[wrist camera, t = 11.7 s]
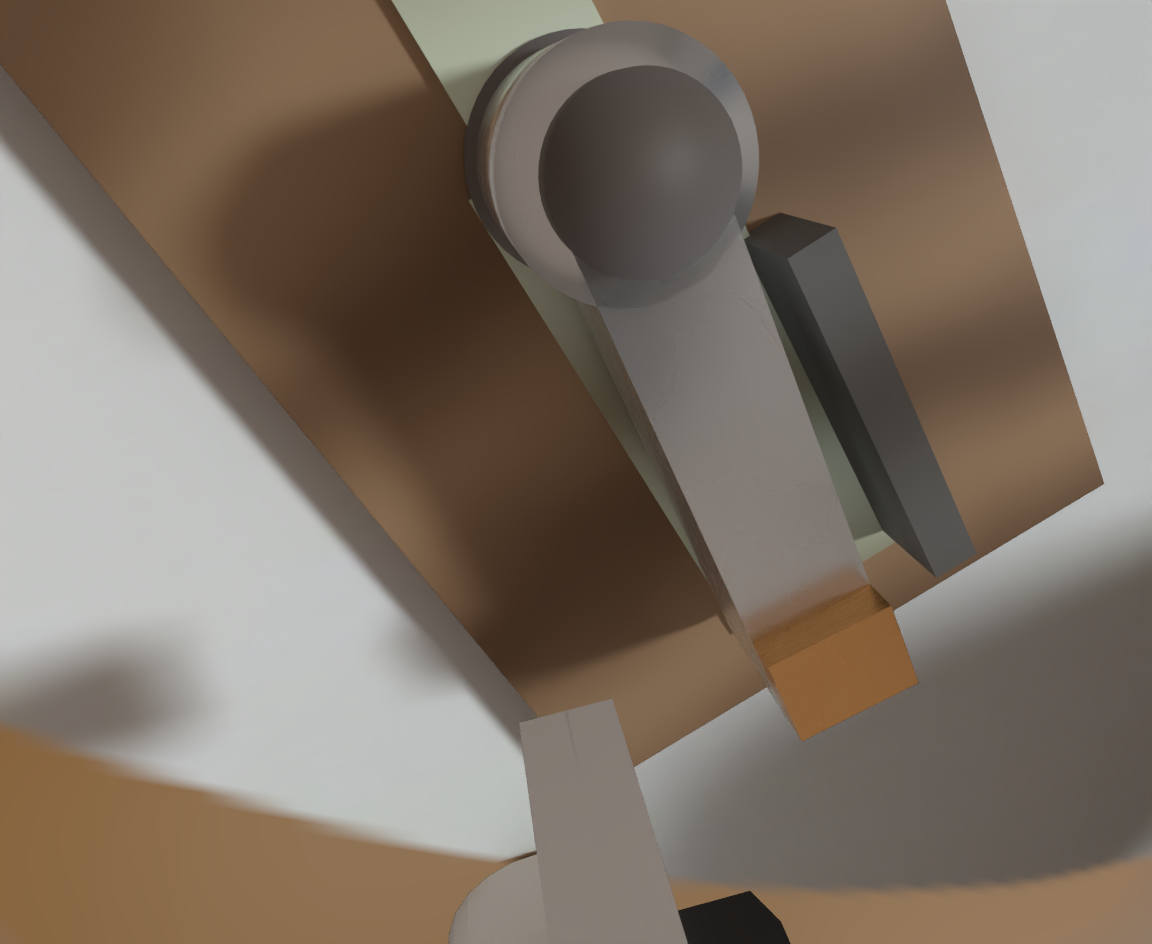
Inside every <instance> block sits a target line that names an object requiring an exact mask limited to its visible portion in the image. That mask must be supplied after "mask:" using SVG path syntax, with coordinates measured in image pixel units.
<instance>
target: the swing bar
mask: <svg viewBox="0 0 1152 944" xmlns="http://www.w3.org/2000/svg"><path fill="white" fill-rule="evenodd" d="M643 65H651V66H662V67H667V68H671V69H675V70H677V71H680V72H683V73H685V74H687V75H689V76H691V77H693V78H694V79H696V80H698V81H699V82H700V83H702V84H703V85H704V86H706V87H707V88H708V89H709V90H710V91H711V92H712V93H713V94H714V95H715V96H716V97H717V98H718V99H719V101H720V102H721V104H722V105H723V106H724V108H725V109H726V111H727V113H728V114H729V116H730V118H731V120H732V122H733V125H734V127H735V130H736V132H737V136H738V140H739V144H740V148H741V156H742V181H741V189H740V193H739V197H738V202H737V205H736V207H735V210H734V213H733V215H732V217H731V219H730V221H729V223H728V225H727V227H726V229H725V230H724V232H723V233H722V235H721V237H720V238H719V239H718V241H717V242H716V243H715V244H714V245H713V246H712V248H711V249H710V250H709V251H708V252H707V253H706V254H704V255H703V256H702V257H701V258H700V259H699V260H697V261H696V262H694V263H693V264H692V265H690V266H688V267H687V268H685V269H683V270H681V271H679V272H677V273H674V274H672V275H669V276H666V277H662V278H658V279H653V280H644V281H638V280H626V279H619V278H616V277H612V276H609V275H606V274H604V273H602V272H600V271H598V270H595V269H594V268H592V267H591V266H589V265H588V264H586V263H585V262H584V261H582V260H581V259H580V258H579V257H578V256H576V255H575V254H574V253H573V252H572V251H571V250H569V249H568V248H567V247H566V245H565V244H564V243H563V242H562V241H561V240H560V239H559V237H558V236H557V234H556V233H555V231H554V230H553V228H552V226H551V224H550V222H549V220H548V219H547V216H546V214H545V211H544V208H543V205H542V201H541V196H540V192H539V182H538V166H539V158H540V151H541V147H542V144H543V140H544V137H545V135H546V132H547V130H548V127H549V125H550V123H551V121H552V120H553V118H554V116H555V114H556V113H557V111H558V110H559V109H560V107H561V106H562V105H563V103H564V102H565V101H566V100H567V99H568V98H569V97H570V96H571V95H572V94H573V93H574V92H575V91H576V90H577V89H579V88H580V87H581V86H583V85H584V84H585V83H587V82H588V81H590V80H592V79H594V78H596V77H597V76H600V75H602V74H605V73H607V72H610V71H614V70H618V69H623V68H627V67H632V66H643ZM476 165H477V174H478V181H479V185H480V189H481V192H482V196H483V199H484V201H485V204H486V206H487V208H488V211H489V213H490V214H491V216H492V218H493V220H494V221H495V223H496V225H497V226H498V227H499V229H500V230H501V231H502V232H503V234H504V235H505V236H506V238H507V239H508V240H509V242H510V243H511V244H512V245H513V247H514V248H515V249H516V251H517V252H518V253H519V254H520V256H521V257H522V258H523V260H524V261H525V262H526V263H527V265H528V266H529V267H530V268H531V269H532V270H533V271H534V272H535V273H536V274H537V275H538V276H539V277H540V278H541V279H542V280H544V281H545V282H546V283H548V284H549V285H550V286H551V287H553V288H554V289H556V290H557V291H559V292H561V293H563V294H564V295H566V296H568V297H570V298H573V299H575V300H576V302H577V304H578V307H579V309H580V311H581V313H582V315H583V317H584V319H585V321H586V324H587V326H588V328H589V330H590V332H591V334H592V336H593V338H594V341H595V343H596V345H597V347H598V349H599V351H600V353H601V355H602V357H603V360H604V362H605V364H606V366H607V368H608V370H609V372H610V374H611V377H612V379H613V381H614V383H615V385H616V387H617V389H618V391H619V394H620V396H621V398H622V400H623V402H624V404H625V406H626V408H627V411H628V413H629V415H630V417H631V419H632V421H633V423H634V425H635V428H636V430H637V432H638V434H639V436H640V438H641V440H642V442H643V445H644V447H645V449H646V451H647V453H648V455H649V457H650V459H651V462H652V464H653V466H654V468H655V470H656V472H657V474H658V476H659V478H660V481H661V483H662V485H663V487H664V489H665V491H666V493H667V495H668V498H669V500H670V502H671V504H672V506H673V508H674V510H675V512H676V515H677V517H678V519H679V521H680V523H681V525H682V527H683V529H684V532H685V534H686V536H687V538H688V540H689V542H690V544H691V546H692V549H693V551H694V553H695V555H696V557H697V559H698V561H699V563H700V566H701V568H702V570H703V572H704V574H705V576H706V578H707V580H708V583H709V585H710V587H711V589H712V591H713V593H714V595H715V597H716V599H717V602H718V604H719V606H720V608H721V610H722V612H723V614H724V616H725V619H726V621H727V623H728V625H729V627H730V629H731V630H732V632H733V633H734V635H735V637H736V638H737V640H738V641H739V643H740V645H741V646H742V648H743V649H744V651H745V653H746V654H747V656H748V657H749V659H750V661H751V662H752V664H753V665H754V667H755V669H756V670H757V672H758V674H759V675H760V677H761V678H762V680H763V682H764V683H765V685H766V686H767V688H768V690H769V691H770V693H771V694H772V696H773V698H774V699H775V701H776V702H777V704H778V706H779V707H780V709H781V710H782V712H783V714H784V715H785V717H786V718H787V720H788V721H789V722H790V723H791V725H792V726H793V728H794V730H795V731H796V733H797V734H798V736H799V738H800V739H801V741H804V740H806V739H808V738H810V737H812V736H814V735H816V734H818V733H820V732H821V731H823V730H825V729H827V728H829V727H831V726H833V725H835V724H837V723H839V722H841V721H843V720H845V719H847V718H849V717H851V716H853V715H855V714H857V713H859V712H861V711H863V710H865V709H867V708H869V707H871V706H873V705H875V704H877V703H879V702H881V701H883V700H885V699H887V698H889V697H891V696H893V695H895V694H897V693H899V692H901V691H903V690H905V689H907V688H909V687H911V686H913V685H915V684H917V683H919V682H918V680H917V677H916V674H915V671H914V668H913V666H912V663H911V660H910V657H909V654H908V651H907V649H906V646H905V643H904V640H903V637H902V635H901V632H900V629H899V626H898V623H897V621H896V618H895V615H894V612H893V609H892V607H891V605H890V604H889V603H888V602H887V601H886V600H885V599H884V598H883V597H882V596H881V595H880V594H879V593H878V592H877V591H876V590H875V589H874V588H873V587H872V586H871V585H870V583H869V581H868V578H867V575H866V572H865V570H864V567H863V564H862V561H861V559H860V556H859V553H858V550H857V548H856V545H855V542H854V539H853V537H852V534H851V531H850V528H849V526H848V523H847V520H846V518H845V515H844V512H843V509H842V507H841V504H840V501H839V498H838V496H837V493H836V490H835V487H834V485H833V482H832V479H831V476H830V474H829V471H828V468H827V465H826V463H825V460H824V457H823V455H822V452H821V449H820V446H819V444H818V441H817V438H816V435H815V433H814V430H813V427H812V424H811V422H810V419H809V416H808V413H807V411H806V408H805V405H804V402H803V400H802V397H801V394H800V392H799V389H798V386H797V383H796V381H795V378H794V375H793V372H792V370H791V367H790V364H789V361H788V359H787V356H786V353H785V350H784V348H783V345H782V342H781V339H780V337H779V334H778V331H777V329H776V326H775V323H774V320H773V318H772V315H771V312H770V309H769V307H768V304H767V301H766V298H765V296H764V293H763V290H762V287H761V285H760V282H759V279H758V276H757V274H756V271H755V268H754V266H753V263H752V260H751V257H750V255H749V252H748V249H747V246H746V244H745V241H744V238H743V235H742V233H741V232H742V230H743V228H744V226H745V224H746V222H747V219H748V217H749V214H750V211H751V208H752V205H753V202H754V197H755V193H756V188H757V183H758V173H759V145H758V138H757V131H756V126H755V123H754V119H753V115H752V111H751V109H750V106H749V104H748V102H747V99H746V97H745V94H744V92H743V91H742V89H741V87H740V85H739V84H738V82H737V80H736V78H735V77H734V76H733V74H732V73H731V72H730V70H729V69H728V68H727V66H726V65H725V64H724V63H723V62H722V61H721V60H720V59H719V58H718V57H717V56H716V55H715V54H714V53H713V52H712V51H711V50H710V49H709V48H707V47H706V46H705V45H703V44H702V43H701V42H699V41H698V40H697V39H695V38H693V37H691V36H689V35H687V34H685V33H684V32H682V31H680V30H677V29H674V28H671V27H668V26H666V25H663V24H657V23H652V22H647V21H630V20H625V21H617V22H608V23H604V24H600V25H597V26H593V27H589V28H587V29H585V30H583V31H580V32H578V33H576V34H573V35H571V36H569V37H567V38H565V39H563V40H561V41H558V42H556V43H554V44H552V45H550V46H548V47H546V48H544V49H542V50H539V51H537V52H536V53H534V54H533V55H531V56H529V57H528V58H526V59H524V60H523V61H522V62H521V63H520V64H518V65H517V66H516V67H515V68H514V69H513V70H512V71H511V72H510V73H509V74H508V75H507V76H506V77H505V78H504V79H503V80H502V82H501V83H500V85H499V86H498V88H497V89H496V91H495V92H494V94H493V95H492V97H491V99H490V101H489V103H488V105H487V107H486V110H485V113H484V115H483V118H482V121H481V125H480V129H479V133H478V139H477V149H476Z"/></svg>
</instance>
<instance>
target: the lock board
mask: <svg viewBox="0 0 1152 944" xmlns="http://www.w3.org/2000/svg"><path fill="white" fill-rule="evenodd" d="M625 20H630V21H647V22H652V23H657V24H663V25H666V26H668V27H671V28H674V29H677V30H680V31H682V32H684V33H685V34H687V35H689V36H691V37H693V38H695V39H697V40H698V41H699V42H701V43H702V44H703V45H705V46H706V47H707V48H709V49H710V50H711V51H712V52H713V53H714V54H715V55H716V56H717V57H718V58H719V59H720V60H721V61H722V62H723V63H724V64H725V65H726V66H727V68H728V69H729V70H730V72H731V73H732V74H733V76H734V77H735V78H736V80H737V82H738V84H739V85H740V87H741V89H742V91H743V92H744V94H745V97H746V99H747V102H748V104H749V106H750V109H751V111H752V115H753V119H754V123H755V126H756V131H757V138H758V145H759V173H758V183H757V188H756V193H755V197H754V202H753V205H752V208H751V211H750V214H749V217H748V219H747V222H746V224H745V226H744V228H743V230H742V232H741V233H742V235H743V238H744V241H745V244H746V246H747V249H748V252H749V255H750V257H751V260H752V263H753V266H754V268H755V271H756V274H757V276H758V279H759V282H760V285H761V287H762V290H763V293H764V296H765V298H766V301H767V304H768V307H769V309H770V312H771V315H772V318H773V320H774V323H775V326H776V329H777V331H778V334H779V337H780V339H781V342H782V345H783V348H784V350H785V353H786V356H787V359H788V361H789V364H790V367H791V370H792V372H793V375H794V378H795V381H796V383H797V386H798V389H799V392H800V394H801V397H802V400H803V402H804V405H805V408H806V411H807V413H808V416H809V419H810V422H811V424H812V427H813V430H814V433H815V435H816V438H817V441H818V444H819V446H820V449H821V452H822V455H823V457H824V460H825V463H826V465H827V468H828V471H829V474H830V476H831V479H832V482H833V485H834V487H835V490H836V493H837V496H838V498H839V501H840V504H841V507H842V509H843V512H844V515H845V518H846V520H847V523H848V526H849V528H850V531H851V534H852V537H853V539H854V542H855V545H856V548H857V550H858V553H859V556H860V559H861V561H862V564H863V567H864V570H865V572H866V575H867V578H868V581H869V583H870V585H871V586H872V587H873V588H874V589H875V590H876V591H877V592H878V593H879V594H880V595H881V596H882V597H883V598H884V599H885V600H886V601H887V602H888V603H889V604H890V605H891V607H892V609H893V611H894V610H895V609H897V608H899V607H900V606H902V605H904V604H905V603H907V602H909V601H910V600H912V599H914V598H915V597H917V596H919V595H920V594H922V593H924V592H925V591H927V590H929V589H930V588H932V587H934V586H935V585H937V584H939V583H940V582H942V581H944V580H945V579H947V578H948V577H950V576H952V575H953V574H955V573H957V572H958V571H960V570H962V569H963V568H965V567H967V566H968V565H970V564H972V563H973V562H975V561H977V560H978V559H980V558H982V557H983V556H985V555H987V554H988V553H990V552H992V551H993V550H995V549H997V548H998V547H1000V546H1002V545H1003V544H1005V543H1007V542H1008V541H1010V540H1012V539H1013V538H1015V537H1017V536H1018V535H1020V534H1021V533H1023V532H1025V531H1026V530H1028V529H1030V528H1031V527H1033V526H1035V525H1036V524H1038V523H1040V522H1041V521H1043V520H1045V519H1046V518H1048V517H1050V516H1051V515H1053V514H1055V513H1056V512H1058V511H1060V510H1061V509H1063V508H1065V507H1066V506H1068V505H1070V504H1071V503H1073V502H1075V501H1076V500H1078V499H1080V498H1081V497H1083V496H1085V495H1086V494H1088V493H1090V492H1091V491H1093V490H1095V489H1096V488H1098V487H1099V486H1101V485H1103V484H1104V482H1103V479H1102V476H1101V473H1100V470H1099V466H1098V463H1097V460H1096V457H1095V454H1094V451H1093V448H1092V445H1091V442H1090V439H1089V436H1088V433H1087V430H1086V427H1085V424H1084V421H1083V418H1082V415H1081V412H1080V409H1079V406H1078V402H1077V399H1076V396H1075V393H1074V390H1073V387H1072V384H1071V381H1070V378H1069V375H1068V372H1067V369H1066V366H1065V363H1064V360H1063V357H1062V354H1061V351H1060V348H1059V345H1058V342H1057V339H1056V335H1055V332H1054V329H1053V326H1052V323H1051V320H1050V317H1049V314H1048V311H1047V308H1046V305H1045V302H1044V299H1043V296H1042V293H1041V290H1040V287H1039V284H1038V281H1037V278H1036V275H1035V272H1034V268H1033V265H1032V262H1031V259H1030V256H1029V253H1028V250H1027V247H1026V244H1025V241H1024V238H1023V235H1022V232H1021V229H1020V226H1019V223H1018V220H1017V217H1016V214H1015V211H1014V208H1013V205H1012V201H1011V198H1010V195H1009V192H1008V189H1007V186H1006V183H1005V180H1004V177H1003V174H1002V171H1001V168H1000V165H999V162H998V159H997V156H996V153H995V150H994V147H993V144H992V141H991V138H990V134H989V131H988V128H987V125H986V122H985V119H984V116H983V113H982V110H981V107H980V104H979V101H978V98H977V95H976V92H975V89H974V86H973V83H972V80H971V77H970V74H969V71H968V67H967V64H966V61H965V58H964V55H963V52H962V49H961V46H960V43H959V40H958V37H957V34H956V31H955V28H954V25H953V22H952V19H951V16H950V13H949V10H948V7H947V4H946V0H0V64H1V66H2V67H3V68H4V69H5V70H6V72H7V73H8V74H9V75H10V76H11V78H12V79H13V80H14V81H15V83H16V84H17V85H18V86H19V87H20V89H21V90H22V91H23V92H24V93H25V95H26V96H27V97H28V98H29V100H30V101H31V102H32V103H33V104H34V106H35V107H36V108H37V109H38V110H39V112H40V113H41V114H42V115H43V117H44V118H45V119H46V120H47V121H48V123H49V124H50V125H51V126H52V127H53V129H54V130H55V131H56V132H57V134H58V135H59V136H60V137H61V138H62V140H63V141H64V142H65V143H66V144H67V146H68V147H69V148H70V149H71V151H72V152H73V153H74V154H75V155H76V157H77V158H78V159H79V160H80V161H81V163H82V164H83V165H84V166H85V168H86V169H87V170H88V171H89V172H90V174H91V175H92V176H93V177H94V178H95V180H96V181H97V182H98V183H99V185H100V186H101V187H102V188H103V189H104V191H105V192H106V193H107V194H108V195H109V197H110V198H111V199H112V200H113V202H114V203H115V204H116V205H117V206H118V208H119V209H120V210H121V211H122V212H123V214H124V215H125V216H126V217H127V219H128V220H129V221H130V222H131V223H132V225H133V226H134V227H135V228H136V229H137V231H138V232H139V233H140V234H141V236H142V237H143V238H144V239H145V240H146V242H147V243H148V244H149V245H150V246H151V248H152V249H153V250H154V251H155V253H156V254H157V255H158V256H159V257H160V259H161V260H162V261H163V262H164V263H165V265H166V266H167V267H168V268H169V270H170V271H171V272H172V273H173V274H174V276H175V277H176V278H177V279H178V280H179V282H180V283H181V284H182V285H183V287H184V288H185V289H186V290H187V291H188V293H189V294H190V295H191V296H192V297H193V299H194V300H195V301H196V302H197V304H198V305H199V306H200V307H201V308H202V310H203V311H204V312H205V313H206V314H207V316H208V317H209V318H210V319H211V321H212V322H213V323H214V324H215V325H216V327H217V328H218V329H219V330H220V331H221V333H222V334H223V335H224V336H225V337H226V339H227V340H228V341H229V342H230V344H231V345H232V346H233V347H234V348H235V350H236V351H237V352H238V353H239V354H240V356H241V357H242V358H243V359H244V361H245V362H246V363H247V364H248V365H249V367H250V368H251V369H252V370H253V371H254V373H255V374H256V375H257V376H258V378H259V379H260V380H261V381H262V382H263V384H264V385H265V386H266V387H267V388H268V390H269V391H270V392H271V393H272V395H273V396H274V397H275V398H276V399H277V401H278V402H279V403H280V404H281V405H282V407H283V408H284V409H285V410H286V412H287V413H288V414H289V415H290V416H291V418H292V419H293V420H294V421H295V422H296V424H297V425H298V426H299V427H300V429H301V430H302V431H303V432H304V433H305V435H306V436H307V437H308V438H309V439H310V441H311V442H312V443H313V444H314V446H315V447H316V448H317V449H318V450H319V452H320V453H321V454H322V455H323V456H324V458H325V459H326V460H327V461H328V463H329V464H330V465H331V466H332V467H333V469H334V470H335V471H336V472H337V473H338V475H339V476H340V477H341V478H342V480H343V481H344V482H345V483H346V484H347V486H348V487H349V488H350V489H351V490H352V492H353V493H354V494H355V495H356V497H357V498H358V499H359V500H360V501H361V503H362V504H363V505H364V506H365V507H366V509H367V510H368V511H369V512H370V514H371V515H372V516H373V517H374V518H375V520H376V521H377V522H378V523H379V524H380V526H381V527H382V528H383V529H384V531H385V532H386V533H387V534H388V535H389V537H390V538H391V539H392V540H393V541H394V543H395V544H396V545H397V546H398V548H399V549H400V550H401V551H402V552H403V554H404V555H405V556H406V557H407V558H408V560H409V561H410V562H411V563H412V565H413V566H414V567H415V568H416V569H417V571H418V572H419V573H420V574H421V575H422V577H423V578H424V579H425V580H426V582H427V583H428V584H429V585H430V586H431V588H432V589H433V590H434V591H435V592H436V594H437V595H438V596H439V597H440V599H441V600H442V601H443V602H444V603H445V605H446V606H447V607H448V608H449V609H450V611H451V612H452V613H453V614H454V616H455V617H456V618H457V619H458V620H459V622H460V623H461V624H462V625H463V626H464V628H465V629H466V630H467V631H468V633H469V634H470V635H471V636H472V637H473V639H474V640H475V641H476V642H477V643H478V645H479V646H480V647H481V648H482V649H483V651H484V652H485V653H486V654H487V656H488V657H489V658H490V659H491V660H492V662H493V663H494V664H495V665H496V666H497V668H498V669H499V670H500V671H501V673H502V674H503V675H504V676H505V677H506V679H507V680H508V681H509V682H510V683H511V685H512V686H513V687H514V688H515V690H516V691H517V692H518V693H519V694H520V696H521V697H522V698H523V699H524V700H525V702H526V703H527V704H528V705H529V707H530V708H531V709H532V710H533V711H534V713H535V714H536V715H537V716H538V717H543V716H547V715H551V714H555V713H559V712H563V711H567V710H570V709H574V708H578V707H582V706H586V705H590V704H594V703H598V702H602V701H605V700H609V699H613V702H614V705H615V708H616V712H617V715H618V718H619V721H620V725H621V728H622V731H623V734H624V738H625V741H626V744H627V747H628V751H629V754H630V757H631V760H632V764H633V767H635V766H637V765H638V764H640V763H642V762H643V761H645V760H646V759H648V758H650V757H651V756H653V755H655V754H656V753H658V752H660V751H661V750H663V749H665V748H666V747H668V746H670V745H671V744H673V743H675V742H676V741H678V740H680V739H681V738H683V737H685V736H686V735H688V734H690V733H691V732H693V731H695V730H696V729H698V728H700V727H701V726H703V725H705V724H706V723H708V722H710V721H711V720H713V719H715V718H716V717H718V716H719V715H721V714H723V713H724V712H726V711H728V710H729V709H731V708H733V707H734V706H736V705H738V704H739V703H741V702H743V701H744V700H746V699H748V698H749V697H751V696H753V695H754V694H756V693H758V692H759V691H761V690H763V689H764V688H766V687H767V686H766V685H765V683H764V682H763V680H762V678H761V677H760V675H759V674H758V672H757V670H756V669H755V667H754V665H753V664H752V662H751V661H750V659H749V657H748V656H747V654H746V653H745V651H744V649H743V648H742V646H741V645H740V643H739V641H738V640H737V638H736V637H735V635H734V633H733V632H732V630H731V629H730V627H729V625H728V623H727V621H726V619H725V616H724V614H723V612H722V610H721V608H720V606H719V604H718V602H717V599H716V597H715V595H714V593H713V591H712V589H711V587H710V585H709V583H708V580H707V578H706V576H705V574H704V572H703V570H702V568H701V566H700V563H699V561H698V559H697V557H696V555H695V553H694V551H693V549H692V546H691V544H690V542H689V540H688V538H687V536H686V534H685V532H684V529H683V527H682V525H681V523H680V521H679V519H678V517H677V515H676V512H675V510H674V508H673V506H672V504H671V502H670V500H669V498H668V495H667V493H666V491H665V489H664V487H663V485H662V483H661V481H660V478H659V476H658V474H657V472H656V470H655V468H654V466H653V464H652V462H651V459H650V457H649V455H648V453H647V451H646V449H645V447H644V445H643V442H642V440H641V438H640V436H639V434H638V432H637V430H636V428H635V425H634V423H633V421H632V419H631V417H630V415H629V413H628V411H627V408H626V406H625V404H624V402H623V400H622V398H621V396H620V394H619V391H618V389H617V387H616V385H615V383H614V381H613V379H612V377H611V374H610V372H609V370H608V368H607V366H606V364H605V362H604V360H603V357H602V355H601V353H600V351H599V349H598V347H597V345H596V343H595V341H594V338H593V336H592V334H591V332H590V330H589V328H588V326H587V324H586V321H585V319H584V317H583V315H582V313H581V311H580V309H579V307H578V304H577V302H576V300H575V299H573V298H570V297H568V296H566V295H564V294H563V293H561V292H559V291H557V290H556V289H554V288H553V287H551V286H550V285H549V284H548V283H546V282H545V281H544V280H542V279H541V278H540V277H539V276H538V275H537V274H536V273H535V272H534V271H533V270H532V269H531V268H530V267H529V266H528V265H527V263H526V262H525V261H524V260H523V258H522V257H521V256H520V254H519V253H518V252H517V251H516V249H515V248H514V247H513V245H512V244H511V243H510V242H509V240H508V239H507V238H506V236H505V235H504V234H503V232H502V231H501V230H500V229H499V227H498V226H497V225H496V223H495V221H494V220H493V218H492V216H491V214H490V213H489V211H488V208H487V206H486V204H485V201H484V199H483V196H482V192H481V189H480V185H479V181H478V174H477V165H476V149H477V139H478V133H479V129H480V125H481V121H482V118H483V115H484V113H485V110H486V107H487V105H488V103H489V101H490V99H491V97H492V95H493V94H494V92H495V91H496V89H497V88H498V86H499V85H500V83H501V82H502V80H503V79H504V78H505V77H506V76H507V75H508V74H509V73H510V72H511V71H512V70H513V69H514V68H515V67H516V66H517V65H518V64H520V63H521V62H522V61H523V60H524V59H526V58H528V57H529V56H531V55H533V54H534V53H536V52H537V51H539V50H542V49H544V48H546V47H548V46H550V45H552V44H554V43H556V42H558V41H561V40H563V39H565V38H567V37H569V36H571V35H573V34H576V33H578V32H580V31H583V30H585V29H587V28H589V27H593V26H597V25H600V24H604V23H608V22H617V21H625ZM741 181H742V156H741V148H740V144H739V140H738V136H737V132H736V130H735V127H734V125H733V122H732V120H731V118H730V116H729V114H728V113H727V111H726V109H725V108H724V106H723V105H722V104H721V102H720V101H719V99H718V98H717V97H716V96H715V95H714V94H713V93H712V92H711V91H710V90H709V89H708V88H707V87H706V86H704V85H703V84H702V83H700V82H699V81H698V80H696V79H694V78H693V77H691V76H689V75H687V74H685V73H683V72H680V71H677V70H675V69H671V68H667V67H662V66H651V65H643V66H632V67H627V68H623V69H618V70H614V71H610V72H607V73H605V74H602V75H600V76H597V77H596V78H594V79H592V80H590V81H588V82H587V83H585V84H584V85H583V86H581V87H580V88H579V89H577V90H576V91H575V92H574V93H573V94H572V95H571V96H570V97H569V98H568V99H567V100H566V101H565V102H564V103H563V105H562V106H561V107H560V109H559V110H558V111H557V113H556V114H555V116H554V118H553V120H552V121H551V123H550V125H549V127H548V130H547V132H546V135H545V137H544V140H543V144H542V147H541V151H540V158H539V166H538V182H539V192H540V196H541V201H542V205H543V208H544V211H545V214H546V216H547V219H548V220H549V222H550V224H551V226H552V228H553V230H554V231H555V233H556V234H557V236H558V237H559V239H560V240H561V241H562V242H563V243H564V244H565V245H566V247H567V248H568V249H569V250H571V251H572V252H573V253H574V254H575V255H576V256H578V257H579V258H580V259H581V260H582V261H584V262H585V263H586V264H588V265H589V266H591V267H592V268H594V269H595V270H598V271H600V272H602V273H604V274H606V275H609V276H612V277H616V278H619V279H626V280H638V281H644V280H653V279H658V278H662V277H666V276H669V275H672V274H674V273H677V272H679V271H681V270H683V269H685V268H687V267H688V266H690V265H692V264H693V263H694V262H696V261H697V260H699V259H700V258H701V257H702V256H703V255H704V254H706V253H707V252H708V251H709V250H710V249H711V248H712V246H713V245H714V244H715V243H716V242H717V241H718V239H719V238H720V237H721V235H722V233H723V232H724V230H725V229H726V227H727V225H728V223H729V221H730V219H731V217H732V215H733V213H734V210H735V207H736V205H737V202H738V197H739V193H740V189H741Z"/></svg>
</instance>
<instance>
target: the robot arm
mask: <svg viewBox="0 0 1152 944" xmlns="http://www.w3.org/2000/svg"><path fill="white" fill-rule="evenodd" d="M519 728H520V735H521V742H522V749H523V757H524V764H525V771H526V778H527V786H528V793H529V800H530V807H531V815H532V822H533V829H534V836H535V844H536V851H537V858H538V865H539V873H540V880H541V887H542V894H543V902H544V909H545V916H546V923H547V931H548V938H549V944H790V942H789V939H788V937H787V935H786V932H785V930H784V928H783V925H782V923H781V921H780V920H779V919H778V918H777V917H776V916H775V915H773V913H772V912H771V911H770V910H769V909H768V908H767V907H766V906H765V905H764V904H763V903H762V902H760V900H759V899H757V897H756V896H755V895H754V894H753V893H752V892H751V891H748V892H744V893H740V894H737V895H733V896H729V897H726V898H722V899H719V900H715V901H711V902H708V903H704V904H700V905H697V906H693V907H689V908H686V909H682V910H679V911H678V910H677V907H676V904H675V901H674V897H673V894H672V891H671V887H670V884H669V881H668V878H667V874H666V871H665V868H664V865H663V861H662V858H661V855H660V852H659V848H658V845H657V842H656V839H655V835H654V832H653V829H652V826H651V822H650V819H649V816H648V813H647V809H646V806H645V803H644V799H643V796H642V793H641V790H640V786H639V783H638V780H637V777H636V773H635V770H634V767H633V764H632V760H631V757H630V754H629V751H628V747H627V744H626V741H625V738H624V734H623V731H622V728H621V725H620V721H619V718H618V715H617V712H616V708H615V705H614V702H613V699H609V700H605V701H602V702H598V703H594V704H590V705H586V706H582V707H578V708H574V709H570V710H567V711H563V712H559V713H555V714H551V715H547V716H543V717H539V718H535V719H532V720H528V721H524V722H520V723H519Z"/></svg>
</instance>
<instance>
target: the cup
mask: <svg viewBox="0 0 1152 944" xmlns="http://www.w3.org/2000/svg"><path fill="white" fill-rule="evenodd" d="M449 944H549V938H548V931H547V923H546V916H545V909H544V902H543V894H542V887H541V880H540V873H539V865H538V858H537V854H536V855H533V856H530V857H527V858H524V859H521V860H518V861H515V862H512V863H510V864H509V865H507V866H505V867H503V868H501V869H500V870H498V871H496V872H495V873H493V874H491V875H489V876H488V877H486V878H485V879H484V880H483V881H482V882H481V883H480V884H479V885H478V886H476V887H475V888H474V889H473V890H472V891H471V892H470V893H469V894H468V895H467V896H466V898H465V899H464V901H463V902H462V904H461V905H460V907H459V908H458V910H457V911H456V913H455V916H454V919H453V923H452V926H451V929H450V932H449Z"/></svg>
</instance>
